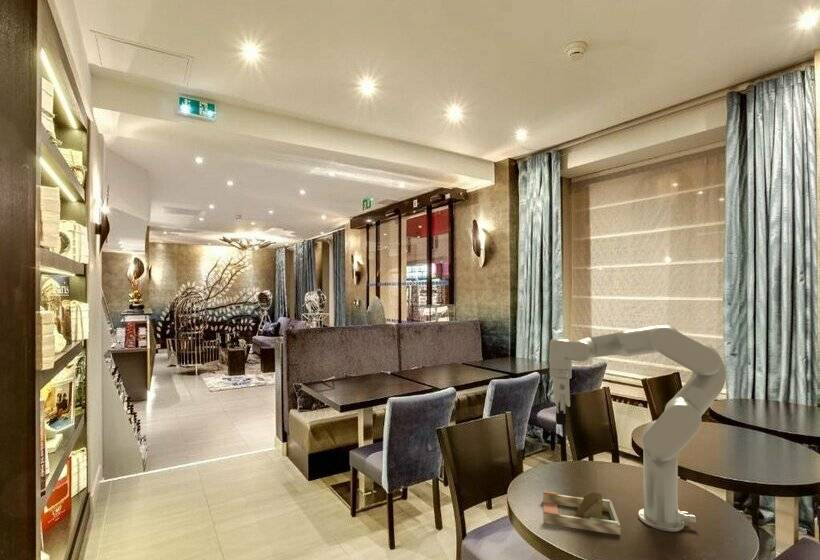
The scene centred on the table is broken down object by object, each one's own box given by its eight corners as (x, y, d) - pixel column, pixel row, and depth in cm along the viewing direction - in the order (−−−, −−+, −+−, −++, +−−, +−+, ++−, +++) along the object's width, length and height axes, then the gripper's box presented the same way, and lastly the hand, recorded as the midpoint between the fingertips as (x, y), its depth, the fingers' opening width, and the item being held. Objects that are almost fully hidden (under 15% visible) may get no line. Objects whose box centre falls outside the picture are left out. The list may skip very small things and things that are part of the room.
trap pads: (556, 503, 147) (556, 492, 147) (559, 525, 133) (559, 514, 133) (543, 501, 148) (543, 491, 148) (544, 523, 134) (544, 512, 134)
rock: (574, 523, 130) (608, 522, 128) (568, 493, 135) (600, 491, 134) (572, 529, 138) (604, 529, 136) (566, 500, 143) (597, 499, 142)
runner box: (611, 510, 142) (611, 500, 142) (620, 535, 128) (620, 523, 128) (543, 501, 148) (543, 491, 148) (544, 523, 134) (544, 512, 134)
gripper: (574, 377, 146) (574, 431, 145) (569, 370, 160) (569, 418, 159) (551, 376, 147) (551, 429, 147) (548, 369, 162) (548, 417, 161)
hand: (560, 423), depth 153 cm, fingers closed
